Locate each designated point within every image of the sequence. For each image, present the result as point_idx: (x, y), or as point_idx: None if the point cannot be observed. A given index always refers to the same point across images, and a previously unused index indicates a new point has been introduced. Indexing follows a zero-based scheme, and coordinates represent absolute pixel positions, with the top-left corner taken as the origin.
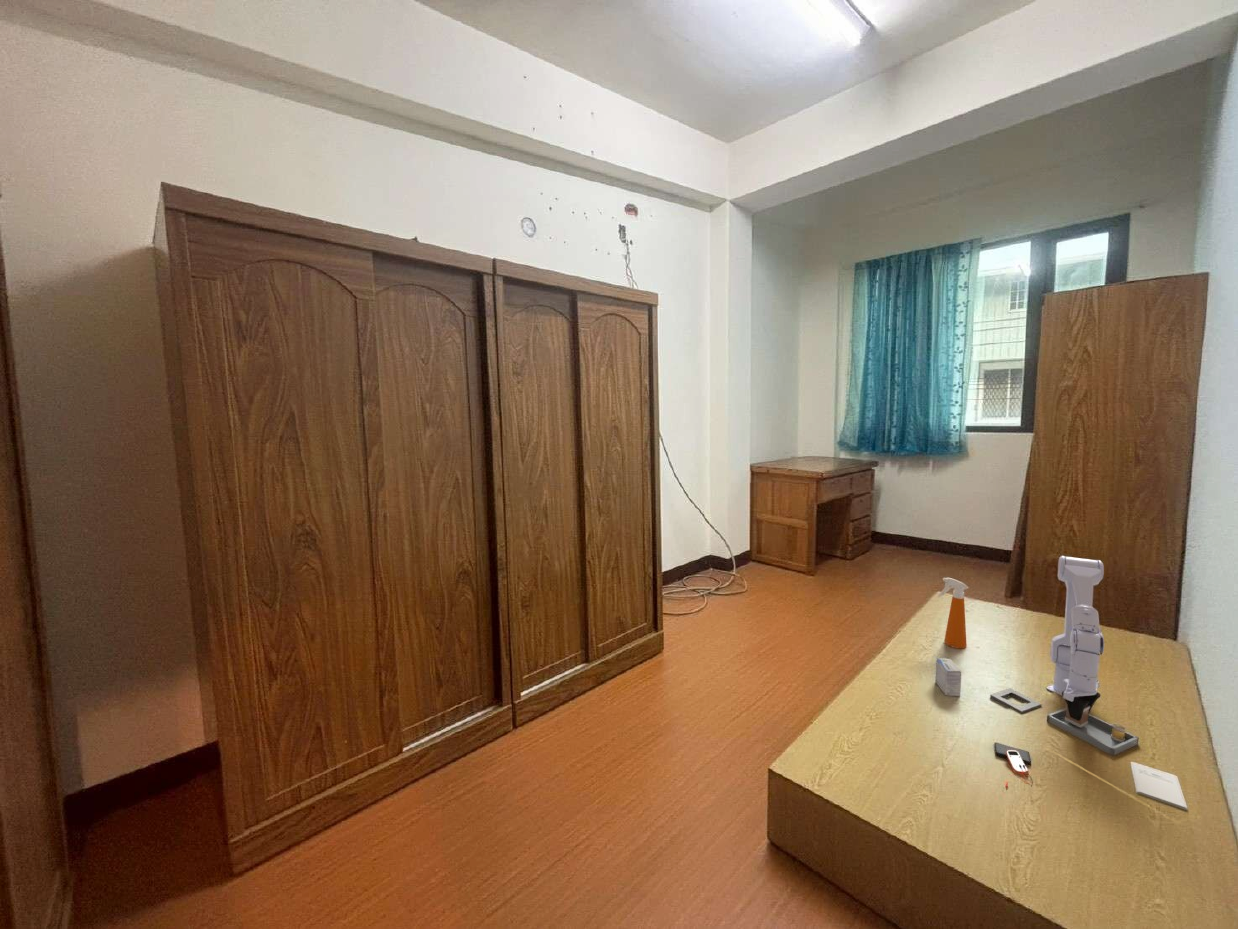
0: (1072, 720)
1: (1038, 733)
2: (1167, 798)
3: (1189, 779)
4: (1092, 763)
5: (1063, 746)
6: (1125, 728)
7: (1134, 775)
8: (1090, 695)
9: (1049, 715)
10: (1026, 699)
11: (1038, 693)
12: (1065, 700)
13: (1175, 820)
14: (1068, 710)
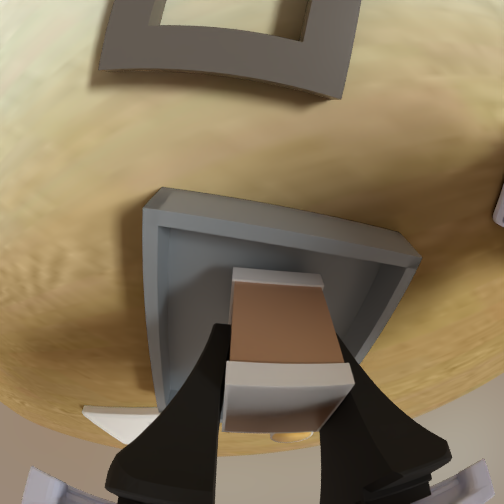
0: (230, 313)
1: (42, 211)
2: (116, 435)
3: (242, 444)
4: (81, 359)
5: (64, 297)
6: (292, 441)
7: (124, 416)
8: (334, 499)
9: (151, 218)
10: (312, 11)
11: (475, 69)
12: (153, 424)
13: (92, 426)
14: (204, 351)
